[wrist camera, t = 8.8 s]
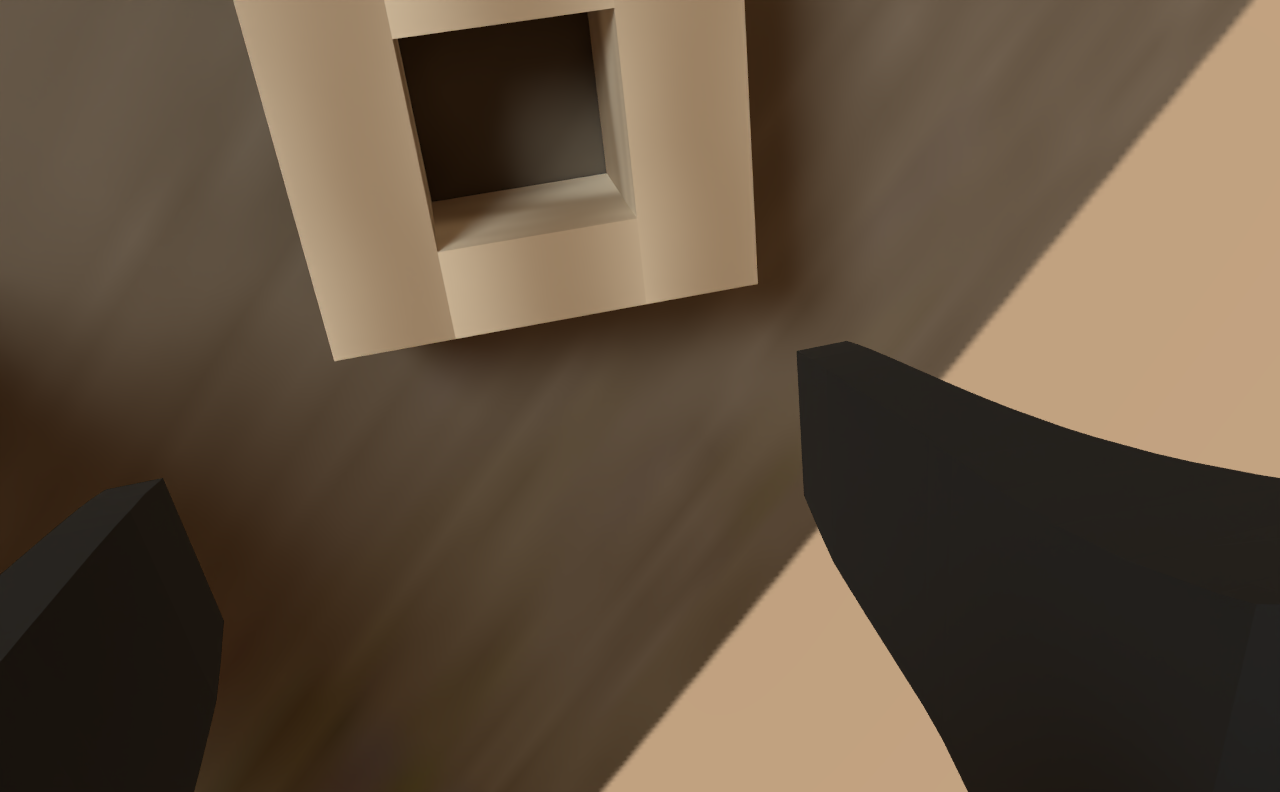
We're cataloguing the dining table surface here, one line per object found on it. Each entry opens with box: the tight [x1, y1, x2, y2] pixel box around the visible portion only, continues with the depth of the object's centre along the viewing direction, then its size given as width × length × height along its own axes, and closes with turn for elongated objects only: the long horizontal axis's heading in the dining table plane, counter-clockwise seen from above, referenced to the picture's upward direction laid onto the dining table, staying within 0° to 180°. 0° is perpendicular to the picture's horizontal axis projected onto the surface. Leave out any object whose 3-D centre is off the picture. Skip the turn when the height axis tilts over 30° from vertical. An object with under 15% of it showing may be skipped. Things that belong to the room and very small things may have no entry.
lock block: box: [233, 0, 758, 361], centre depth 18 cm, size 8×7×3 cm
